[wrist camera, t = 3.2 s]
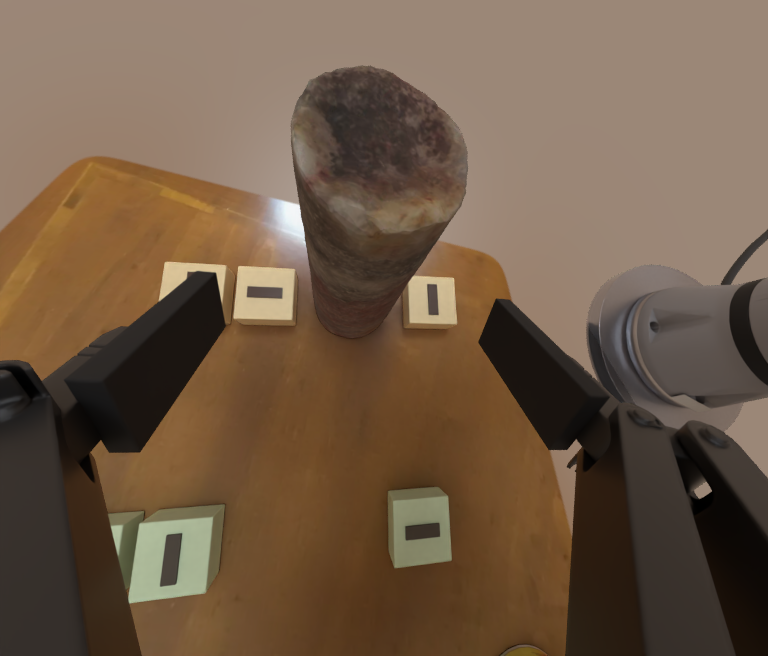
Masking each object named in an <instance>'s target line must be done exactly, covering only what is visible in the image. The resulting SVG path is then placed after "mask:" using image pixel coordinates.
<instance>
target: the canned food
mask: <svg viewBox="0 0 768 656" xmlns="http://www.w3.org/2000/svg"><path fill="white" fill-rule="evenodd" d="M501 656H548V655H547V654H546V653H545V652H543V651H542V650H540V649H539V648H537V647H534V646H531V645H517V646H515V647H512V648H510V649H508V650H506V651H505V652H504V653H503V654H502V655H501Z"/></svg>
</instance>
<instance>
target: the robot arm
mask: <svg viewBox="0 0 768 656" xmlns="http://www.w3.org/2000/svg"><path fill="white" fill-rule="evenodd" d="M767 239H768V230H767V231H766V232H765V233H763V234H762V235H761V236H760V237H759V238H758V239H756V240H755V241H754V242H753V243H752V244H751V245H750V246H749V247H748V248H747V249H746V250H745V251H744V252H743V254H742V255H741V256H740V257H739V258H738V259H737V261H736V262H735V263H734V264H733V266H732V267H731V268H730V270H729V271H728V273H727V274H726V276H725V277H724V279H723V281H722V283H721V285H714V286H685V287H673V288H667V289H662V290H659V291H655V292H652V293H649V294H647V295H645V296H643V297H642V298H640V299H639V300H638V301H637V302H636V303H635V305H634V306H633V308H632V310H631V312H630V314H629V317H628V321H627V327H626V340H627V346H628V351H629V354H630V358H631V360H632V363H633V365H634V367H635V369H636V371H637V373H638V374H639V376H640V377H641V379H642V380H643V382H644V383H645V384H646V385H647V386H648V388H649V389H650V390H651V391H652V392H653V393H655V394H656V395H657V396H658V397H660V398H661V399H663V400H664V401H666V402H668V403H670V404H672V405H674V406H678V407H682V408H690V409H692V410H694V411H696V412H703V411H710V410H712V409H710V408H719V407H724V406H729V405H733V404H738V403H743V402H748V401H752V400H757V399H762V398H767V397H768V278H764V279H760V280H756V281H752V282H748V283H743V284H738V285H731V283H732V281H733V279H734V278H735V276H736V275H737V273H738V272H739V270H740V269H741V268H742V266H743V265H744V264H745V262H746V261H747V260H748V259H749V257H750V256H751V255H752V254H753V253H754V252H755V251H756V249H758V247H760V246H761V245H762V244H763V243H764V242H765V241H766V240H767ZM225 327H226V324H225V318H224V313H223V307H222V302H221V296H220V291H219V285H218V280H217V274H216V272H205V271H196V272H194V273H193V274H192V275H191V276H190V277H188V278H187V279H186V280H185V281H183V282H182V283H181V284H180V285H179V286H177V287H176V288H175V289H174V290H173V291H171V292H170V293H169V294H168V295H166V296H165V297H164V298H163V299H162V300H160V301H159V302H158V303H157V304H155V305H154V306H153V307H152V308H151V309H149V310H148V311H147V312H146V313H145V314H143V315H142V316H141V317H140V318H138V319H137V320H136V321H135V322H134V323H132V324H131V325H130V326H129V327H123V326H121V327H118V328H116V329H114V330H112V331H109V332H107V333H105V334H103V335H101V336H100V337H99V338H97V339H96V340H95V341H93V342H92V343H91V344H90V345H89V347H86V348H84V349H83V350H82V351H80V352H79V353H78V355H77V356H74V357H73V358H71V359H70V360H69V361H67V362H66V363H65V364H64V365H62V366H61V367H60V368H58V369H57V370H56V371H54V372H53V373H52V374H50V375H49V376H48V377H47V378H45V379H44V380H43V381H41V380H40V378H39V377H38V375H37V374H36V373H35V371H34V370H33V368H32V367H31V366H30V364H29V363H27V362H23V361H19V360H6V361H0V656H142V655H141V651H140V647H139V642H138V638H137V634H136V630H135V626H134V621H133V617H132V613H131V609H130V605H129V600H128V596H127V592H126V588H125V584H124V580H123V575H122V571H121V567H120V563H119V559H118V554H117V550H116V546H115V542H114V538H113V533H112V529H111V525H110V521H109V517H108V512H107V508H106V504H105V500H104V496H103V491H102V487H101V483H100V479H99V475H98V470H97V466H96V462H95V459H94V457H93V456H92V454H91V453H90V452H91V451H92V449H93V448H94V447H95V446H96V445H97V443H98V442H99V441H100V440H102V442H103V444H104V445H105V447H106V448H107V450H108V452H109V453H127V452H141V450H142V449H143V447H144V446H145V444H146V443H147V441H148V440H149V439H150V437H151V436H152V434H153V433H154V431H155V430H156V428H157V427H158V425H159V424H160V422H161V421H162V419H163V418H164V416H165V415H166V414H167V412H168V411H169V409H170V408H171V406H172V405H173V403H174V402H175V400H176V399H177V397H178V396H179V394H180V393H181V392H182V390H183V389H184V387H185V386H186V384H187V383H188V381H189V380H190V378H191V377H192V375H193V374H194V372H195V371H196V370H197V368H198V367H199V365H200V364H201V362H202V361H203V359H204V358H205V356H206V355H207V353H208V352H209V350H210V349H211V347H212V346H213V345H214V343H215V342H216V340H217V339H218V337H219V336H220V334H221V333H222V331H223V330H224V328H225ZM478 343H479V344H480V346H481V347H482V349H483V350H484V352H485V353H486V355H487V356H488V358H489V359H490V361H491V363H492V364H493V366H494V367H495V369H496V370H497V372H498V373H499V375H500V376H501V378H502V379H503V381H504V382H505V384H506V385H507V387H508V388H509V390H510V392H511V393H512V395H513V396H514V398H515V399H516V401H517V402H518V404H519V405H520V407H521V408H522V410H523V411H524V413H525V414H526V416H527V417H528V419H529V421H530V422H531V424H532V425H533V427H534V428H535V430H536V431H537V433H538V434H539V436H540V437H541V439H542V440H543V442H544V443H545V445H546V446H547V448H548V450H567V449H568V448H569V447H570V446H571V445H572V443H573V442H574V441H575V440H576V439H577V440H578V442H579V443H580V444H581V446H582V448H581V449H580V450H579V451H578V453H577V454H576V455H575V456H574V457H573V458H572V460H571V461H570V462H569V463H568V465H567V467H568V468H571V467H572V466H573V465H575V464H577V467H576V470H575V472H576V486H575V501H574V519H573V535H572V552H571V569H570V586H569V603H568V620H567V636H566V653H565V656H768V478H767V477H766V476H765V475H764V474H763V472H762V471H761V470H760V469H759V468H758V467H757V465H756V464H755V463H754V462H753V461H752V460H751V459H750V457H749V456H748V455H747V454H746V453H745V452H744V450H743V449H742V448H741V447H740V446H739V445H738V444H737V443H736V442H735V441H734V440H733V439H732V438H730V437H729V436H728V435H726V434H725V433H724V432H723V431H721V430H720V429H717V428H716V427H714V426H712V425H708V424H706V423H703V422H700V421H696V420H690V421H687V422H686V423H685V424H684V425H683V426H682V427H681V428H680V429H676V428H672V427H668V426H665V425H664V424H663V423H662V422H661V421H660V420H659V419H658V418H657V417H656V416H655V415H653V414H652V413H650V412H649V411H647V410H645V409H643V408H641V407H640V406H637V405H634V404H631V403H624V402H623V403H620V402H619V401H618V400H617V399H616V398H615V397H614V396H613V395H612V394H611V393H609V392H608V391H607V390H606V389H605V388H604V387H603V386H602V385H601V384H600V383H599V382H598V381H597V380H596V379H595V378H592V376H591V374H589V373H588V372H587V371H586V370H584V368H583V367H582V366H581V365H580V364H579V363H578V362H577V361H576V360H574V359H573V358H571V357H570V356H568V355H567V354H565V353H564V352H563V351H562V350H561V349H560V348H559V347H558V346H557V345H556V344H555V343H554V342H553V341H552V340H551V339H550V338H549V337H548V336H547V335H546V334H545V333H544V332H543V331H542V330H540V329H539V328H538V327H537V326H536V325H535V324H534V323H533V322H532V321H531V320H530V319H529V318H528V317H527V316H526V315H525V314H524V313H523V312H522V311H520V309H519V308H517V306H515V305H514V304H513V303H512V302H511V301H510V300H506V299H496V300H495V302H494V305H493V307H492V310H491V312H490V315H489V317H488V320H487V322H486V325H485V327H484V330H483V332H482V335H481V337H480V339H479V342H478ZM706 481H707V483H708V484H709V486H710V487H711V490H712V492H711V493H709V494H708V495H706V496H705V497H703V498H701V499H699V498H698V497H697V496H696V494H695V493H694V490H695V489H696V488H698V487H699V486H700V485H702V484H703V483H705V482H706Z"/></svg>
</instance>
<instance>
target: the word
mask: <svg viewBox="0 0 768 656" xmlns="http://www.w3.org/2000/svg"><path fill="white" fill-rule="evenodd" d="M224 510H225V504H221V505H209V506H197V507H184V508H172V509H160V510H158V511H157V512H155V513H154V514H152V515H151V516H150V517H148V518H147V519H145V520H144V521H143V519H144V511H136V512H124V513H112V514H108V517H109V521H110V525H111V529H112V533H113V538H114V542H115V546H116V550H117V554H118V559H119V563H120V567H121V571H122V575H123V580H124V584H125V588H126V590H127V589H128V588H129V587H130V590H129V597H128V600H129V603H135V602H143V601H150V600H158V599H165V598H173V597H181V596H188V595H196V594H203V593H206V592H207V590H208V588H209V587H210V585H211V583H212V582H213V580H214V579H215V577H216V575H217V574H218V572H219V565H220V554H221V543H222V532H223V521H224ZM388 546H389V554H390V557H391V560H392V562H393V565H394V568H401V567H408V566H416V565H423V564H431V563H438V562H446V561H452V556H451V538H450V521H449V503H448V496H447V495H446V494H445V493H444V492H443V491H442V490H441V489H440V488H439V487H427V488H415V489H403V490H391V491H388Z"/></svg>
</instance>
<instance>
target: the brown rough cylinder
mask: <svg viewBox="0 0 768 656" xmlns="http://www.w3.org/2000/svg"><path fill="white" fill-rule="evenodd" d="M291 145H292V155H293V164H294V172H295V178H296V184H297V191H298V197H299V203H300V210H301V217H302V222H303V226H304V232H305V241H306V247H307V253H308V259H309V266H310V272H311V282H312V289H313V297H314V303H315V309H316V313H317V316H318V318H319V320H320V322H321V323H322V325H323V326H324V327H325V328H326V329H327V330H328V331H330V332H332V333H334V334H336V335H339V336H343V337H346V338H357V337H363V336H365V335H367V334H369V333H371V332H373V331H374V330H375V329H376V328H377V327H378V326H379V325H380V324H381V323H382V322H383V320H384V319H385V317H386V316H387V315H388V313H389V312H390V310H391V309H392V307H393V305H394V304H395V302H396V301H397V299H398V298H399V296H400V295H401V293H402V292H403V290H404V289H405V287H406V285H407V284H408V282H409V281H410V280H411V278H412V277H413V276H414V274H415V273H416V271H417V270H418V268H419V267H420V266H421V264H422V263H423V261H424V260H425V258H426V257H427V255H428V254H429V252H430V250H431V249H432V247H433V246H434V245H435V243H436V242H437V240H438V239H439V237H440V236H441V234H442V233H443V231H444V229H445V228H446V227H447V225H448V224H449V222H450V221H451V219H452V218H453V217H454V215H455V214H456V212H457V211H458V209H459V208H460V207H461V204H462V201H463V199H464V196H465V194H466V189H465V188H466V179H467V172H468V164H467V147H466V145H465V142H464V139H463V136H462V133H461V131H460V129H459V127H458V126H457V125H456V123H455V122H454V121H453V120H452V119H451V118H450V116H449V115H448V114H447V113H446V112H445V111H443V110H442V109H441V108H439V107H438V106H437V104H436V103H435V102H434V101H433V100H431V99H430V98H429V97H428V96H427V95H426V94H424V93H423V92H421V91H419V90H417V89H416V88H414V87H413V86H411V85H410V84H409V83H407V82H405V81H403V80H401V79H400V78H399V77H397V76H396V75H394V74H393V73H391V72H389V71H386V70H383V69H378V68H374V67H372V66H358V67H353V68H341V69H336V70H334V71H332V72H325V73H323V74H322V75H320V76H318V77H317V78H315V79H312V80H310V81H309V82H308V85H307V87H306V89H305V90H304V92H303V94H302V95H301V96H300V97H299V99H298V101H297V103H296V106H295V110H294V113H293V116H292V120H291Z"/></svg>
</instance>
